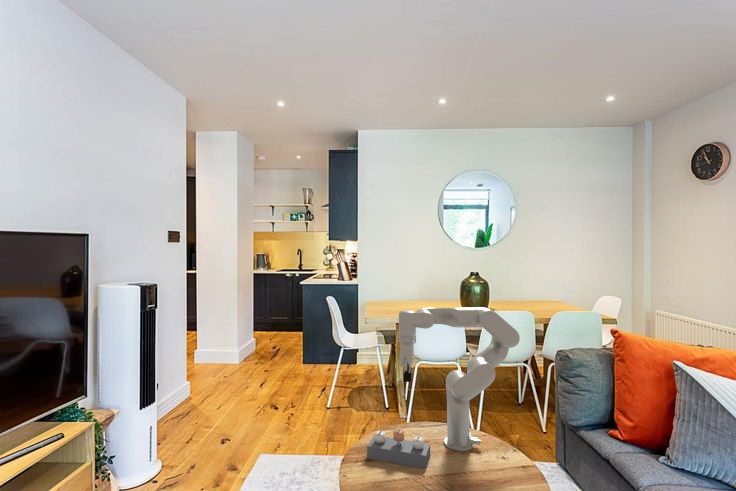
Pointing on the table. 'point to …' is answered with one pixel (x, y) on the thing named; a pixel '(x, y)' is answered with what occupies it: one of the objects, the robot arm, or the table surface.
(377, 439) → the knob far
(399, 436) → the knob middle
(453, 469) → the table surface
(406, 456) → the control rail
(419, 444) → the knob near
